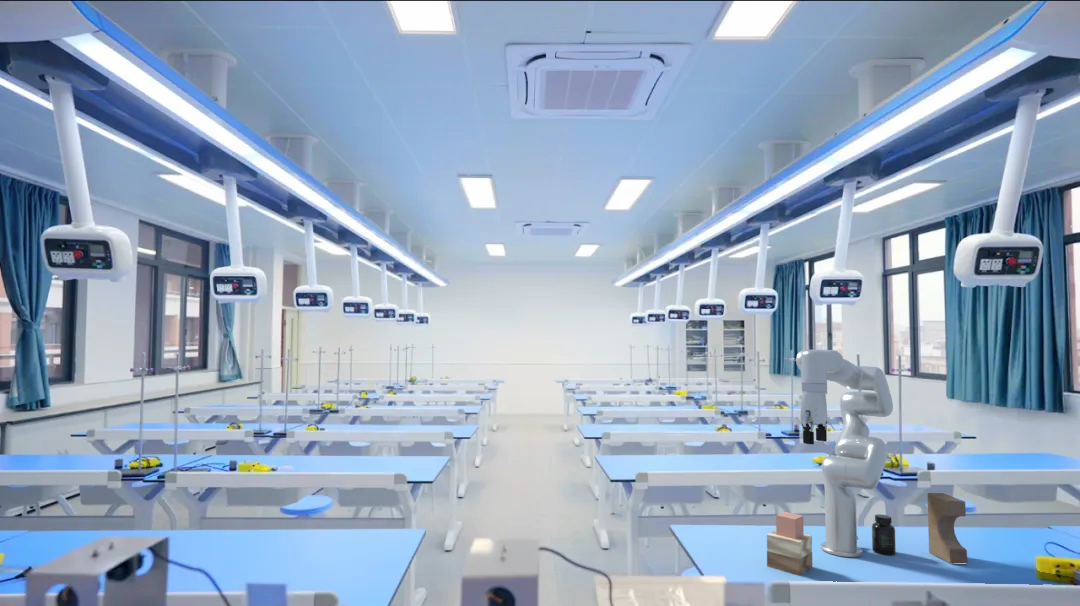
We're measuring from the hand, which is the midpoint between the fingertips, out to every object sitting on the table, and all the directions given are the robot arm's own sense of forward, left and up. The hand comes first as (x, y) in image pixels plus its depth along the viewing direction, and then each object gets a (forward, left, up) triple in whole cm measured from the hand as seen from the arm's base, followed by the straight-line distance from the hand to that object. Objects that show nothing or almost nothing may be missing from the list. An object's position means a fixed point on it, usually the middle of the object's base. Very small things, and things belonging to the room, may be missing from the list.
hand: (815, 442), depth 191 cm
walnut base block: (+8, -5, -39) cm, 40 cm away
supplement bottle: (-30, +10, -38) cm, 50 cm away
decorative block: (-40, +26, -38) cm, 61 cm away
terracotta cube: (+8, -5, -29) cm, 30 cm away
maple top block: (+8, -5, -34) cm, 35 cm away
